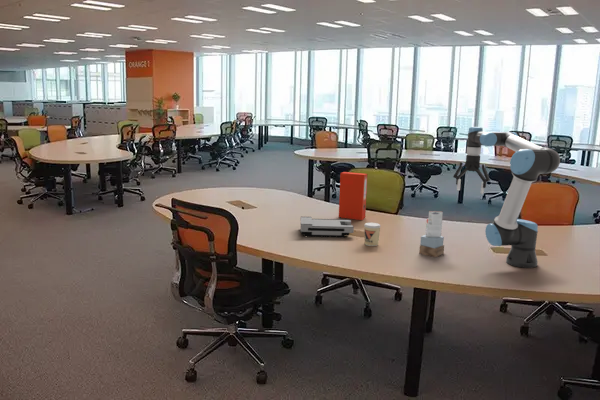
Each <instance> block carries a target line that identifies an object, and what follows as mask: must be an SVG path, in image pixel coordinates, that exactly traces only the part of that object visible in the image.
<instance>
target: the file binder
mask: <svg viewBox="0 0 600 400" xmlns="http://www.w3.org/2000/svg"><path fill="white" fill-rule="evenodd" d="M339 178H340V179H339V201H338V202H339V203H338V218H340V217H341V218H340V219H347V220H357V221H363V220H365V219H366V209H367V192H368V191H367V190H368V173H360V172H351V171H350V172H348V171H343V172H340V176H339ZM364 218H365V219H364Z"/></svg>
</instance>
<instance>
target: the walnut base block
mask: <svg viewBox="0 0 600 400" xmlns="http://www.w3.org/2000/svg"><path fill="white" fill-rule="evenodd" d="M418 250H419V253H418V254H419V255H424V256H429V257H434V258H438V257H439V256H441V255H443V254H445V244H443V246H440V247H438V248H431V247H426V246H422V245H419V249H418Z"/></svg>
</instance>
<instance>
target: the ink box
mask: <svg viewBox="0 0 600 400" xmlns="http://www.w3.org/2000/svg"><path fill="white" fill-rule="evenodd" d="M442 229H443V211H437V210H433V211H432V210H428V217H427V218H426V223H425V234H424V235H426V237H441V236H442Z"/></svg>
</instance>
